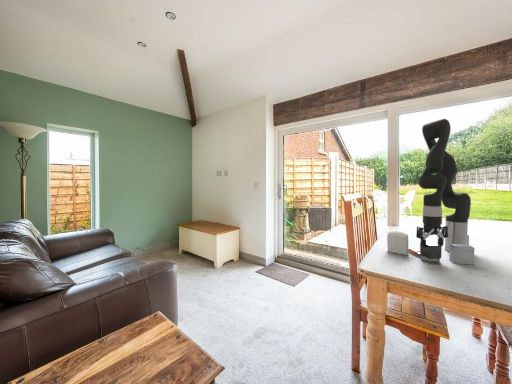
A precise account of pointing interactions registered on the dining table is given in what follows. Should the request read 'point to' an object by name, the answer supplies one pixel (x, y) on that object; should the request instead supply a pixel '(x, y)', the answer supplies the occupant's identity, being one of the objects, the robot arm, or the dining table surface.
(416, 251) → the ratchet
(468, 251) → the medicine box
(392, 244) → the photo printer
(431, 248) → the dark grey metal cube
